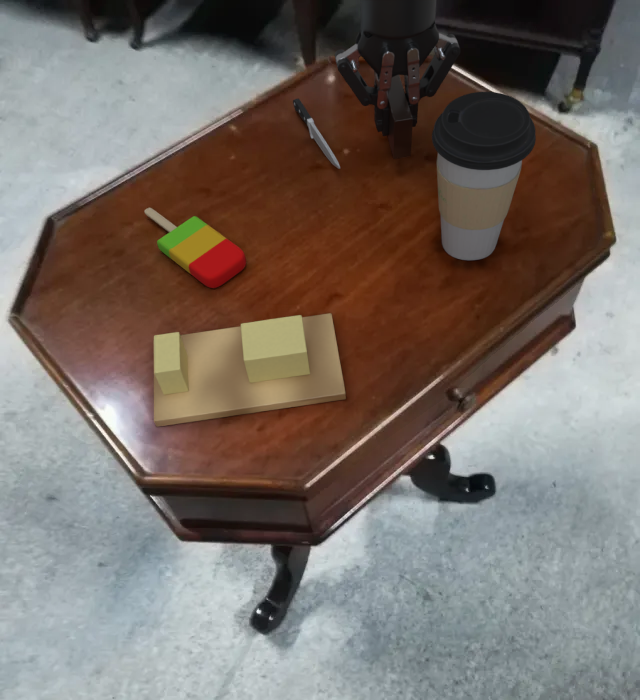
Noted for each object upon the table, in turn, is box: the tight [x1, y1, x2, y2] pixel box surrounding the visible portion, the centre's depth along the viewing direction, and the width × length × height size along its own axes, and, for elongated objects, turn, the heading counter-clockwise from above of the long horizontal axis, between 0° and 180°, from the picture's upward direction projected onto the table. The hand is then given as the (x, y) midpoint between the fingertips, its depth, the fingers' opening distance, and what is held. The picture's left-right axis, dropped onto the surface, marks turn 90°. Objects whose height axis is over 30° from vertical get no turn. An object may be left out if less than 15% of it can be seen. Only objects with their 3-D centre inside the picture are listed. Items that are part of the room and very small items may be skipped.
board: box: [153, 312, 347, 428], centre depth 72 cm, size 18×10×1 cm, turn 97°
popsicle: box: [144, 207, 247, 289], centre depth 82 cm, size 6×15×2 cm, turn 44°
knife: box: [292, 98, 341, 170], centre depth 90 cm, size 15×1×2 cm, turn 22°
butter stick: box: [240, 314, 310, 383], centre depth 70 cm, size 6×4×4 cm
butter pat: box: [153, 331, 189, 395], centre depth 70 cm, size 2×4×4 cm, turn 7°
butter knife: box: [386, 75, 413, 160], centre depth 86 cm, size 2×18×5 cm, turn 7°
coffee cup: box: [431, 91, 537, 261], centre depth 73 cm, size 9×9×15 cm
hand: (395, 129), depth 86 cm, fingers closed on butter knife, 2 cm apart
